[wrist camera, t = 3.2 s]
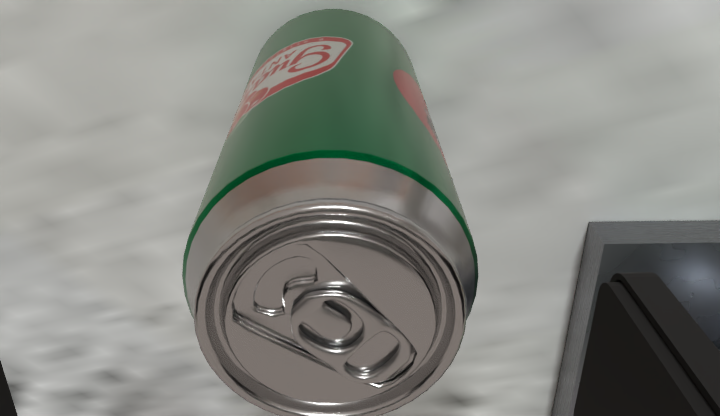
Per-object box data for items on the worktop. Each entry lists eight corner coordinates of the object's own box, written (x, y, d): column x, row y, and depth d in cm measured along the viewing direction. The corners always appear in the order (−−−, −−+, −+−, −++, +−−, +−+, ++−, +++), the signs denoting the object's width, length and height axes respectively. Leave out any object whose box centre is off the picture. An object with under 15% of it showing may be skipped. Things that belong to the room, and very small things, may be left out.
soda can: (324, -33, 19) (309, 110, 9) (446, 79, 21) (558, 311, 10) (220, 93, 21) (103, 340, 10) (341, 187, 23) (346, 481, 12)
